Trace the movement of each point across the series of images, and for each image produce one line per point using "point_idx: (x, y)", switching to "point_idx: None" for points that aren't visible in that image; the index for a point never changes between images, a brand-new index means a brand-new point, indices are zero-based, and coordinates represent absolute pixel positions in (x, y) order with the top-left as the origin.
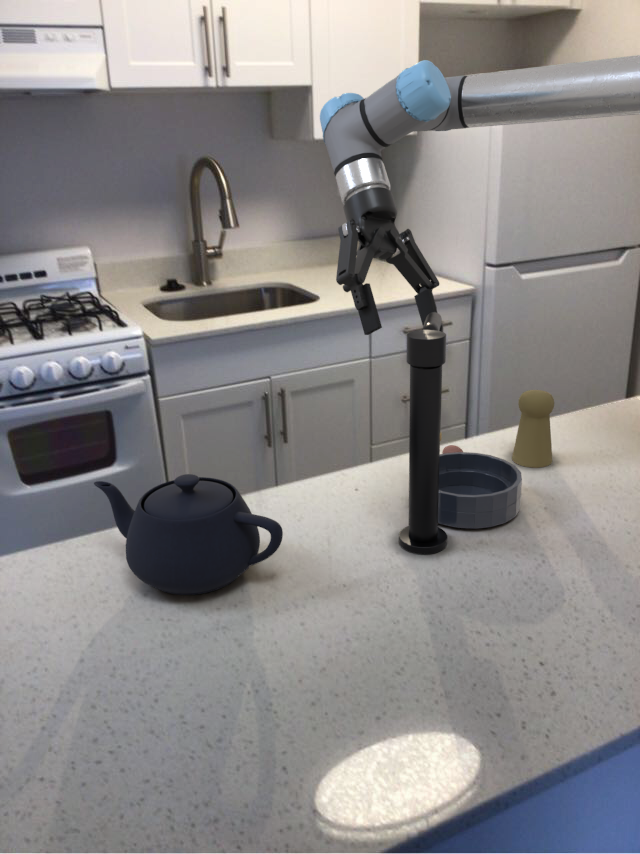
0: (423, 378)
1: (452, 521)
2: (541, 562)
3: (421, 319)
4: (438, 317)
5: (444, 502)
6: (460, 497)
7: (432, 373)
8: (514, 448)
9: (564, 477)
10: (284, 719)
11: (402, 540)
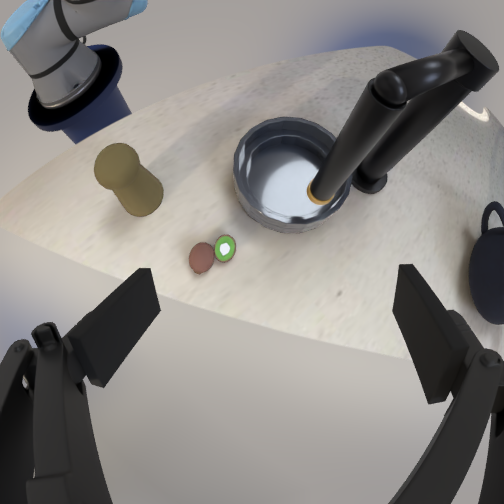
0: None
1: None
2: (318, 98)
3: (140, 335)
4: (405, 64)
5: None
6: None
7: None
8: (149, 205)
9: (164, 149)
10: (489, 147)
11: (386, 180)
